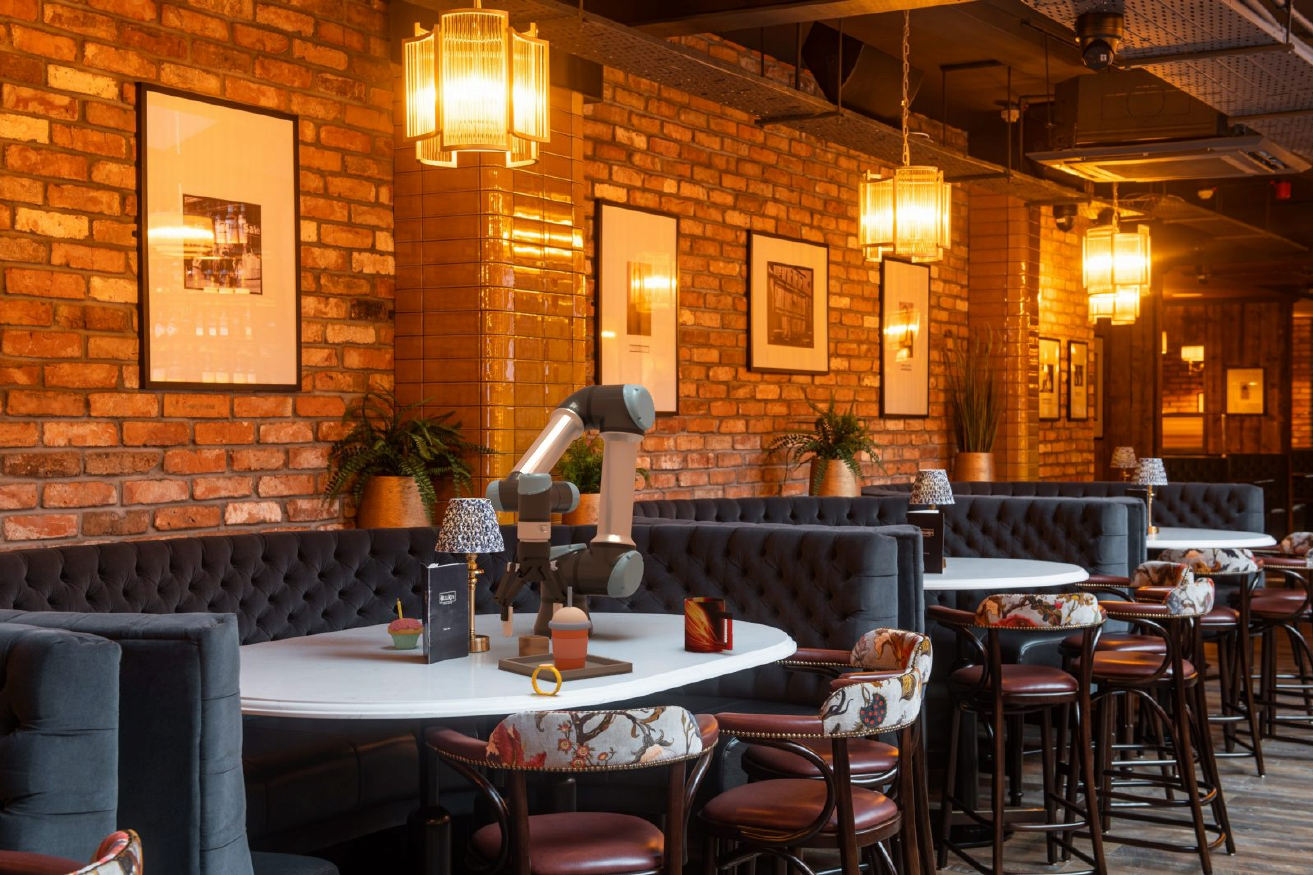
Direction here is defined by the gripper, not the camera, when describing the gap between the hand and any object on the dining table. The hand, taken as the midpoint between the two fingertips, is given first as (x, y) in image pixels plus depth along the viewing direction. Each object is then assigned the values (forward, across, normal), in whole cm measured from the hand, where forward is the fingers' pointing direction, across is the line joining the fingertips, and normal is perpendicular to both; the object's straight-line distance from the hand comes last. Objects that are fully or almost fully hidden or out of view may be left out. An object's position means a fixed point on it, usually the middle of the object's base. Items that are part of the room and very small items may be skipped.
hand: (532, 633), depth 313 cm
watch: (+7, -22, -39) cm, 45 cm away
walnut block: (+6, 0, 0) cm, 6 cm away
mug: (+5, +40, -16) cm, 44 cm away
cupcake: (+6, -14, +33) cm, 37 cm away
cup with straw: (+6, -6, -23) cm, 24 cm away
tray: (+6, -4, -18) cm, 19 cm away
